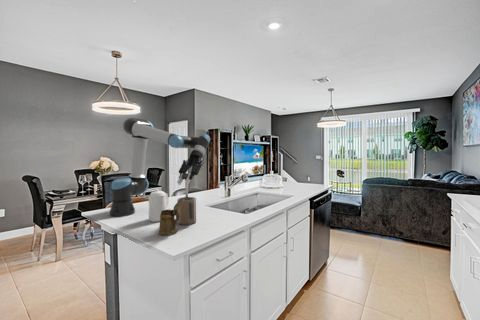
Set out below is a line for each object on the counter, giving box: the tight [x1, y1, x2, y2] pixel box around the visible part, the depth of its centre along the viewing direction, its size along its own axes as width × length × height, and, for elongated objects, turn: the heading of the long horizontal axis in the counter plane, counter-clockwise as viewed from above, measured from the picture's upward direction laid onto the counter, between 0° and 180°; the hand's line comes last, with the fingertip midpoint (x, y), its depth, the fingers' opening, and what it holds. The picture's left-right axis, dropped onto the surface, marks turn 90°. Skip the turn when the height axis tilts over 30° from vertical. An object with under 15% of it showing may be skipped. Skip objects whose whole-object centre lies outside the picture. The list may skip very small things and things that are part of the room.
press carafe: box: [176, 196, 197, 226], centre depth 134 cm, size 12×10×14 cm
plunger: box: [182, 172, 190, 200], centre depth 134 cm, size 6×6×18 cm
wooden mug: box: [157, 199, 183, 237], centre depth 117 cm, size 9×14×18 cm, turn 73°
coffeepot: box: [144, 188, 169, 223], centre depth 141 cm, size 11×25×19 cm, turn 168°
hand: (182, 183), depth 131 cm, fingers closed on plunger, 4 cm apart
